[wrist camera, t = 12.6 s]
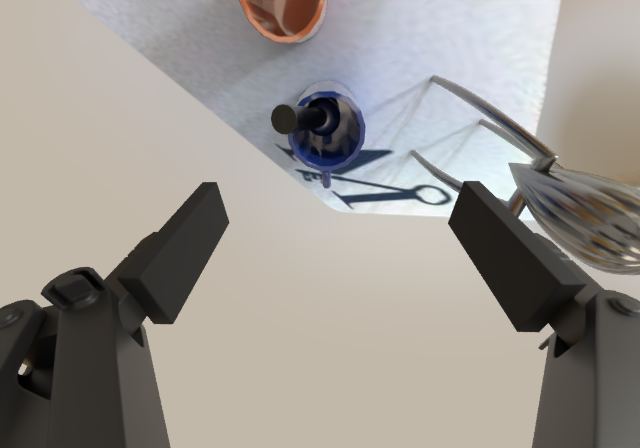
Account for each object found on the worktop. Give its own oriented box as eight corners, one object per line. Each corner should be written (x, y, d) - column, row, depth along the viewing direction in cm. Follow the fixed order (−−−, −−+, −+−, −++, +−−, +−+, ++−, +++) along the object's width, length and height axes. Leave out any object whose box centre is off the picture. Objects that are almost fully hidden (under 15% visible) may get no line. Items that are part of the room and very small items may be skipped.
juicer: (410, 153, 40) (533, 319, 16) (431, 75, 33) (703, 153, 9) (468, 157, 40) (681, 327, 16) (502, 79, 33) (957, 168, 9)
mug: (294, 81, 34) (283, 92, 26) (359, 79, 34) (368, 90, 26) (300, 166, 42) (293, 194, 34) (353, 165, 41) (359, 194, 33)
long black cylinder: (310, 98, 35) (254, 87, 20) (343, 98, 34) (311, 86, 19) (310, 134, 38) (260, 148, 22) (342, 135, 36) (311, 150, 21)
